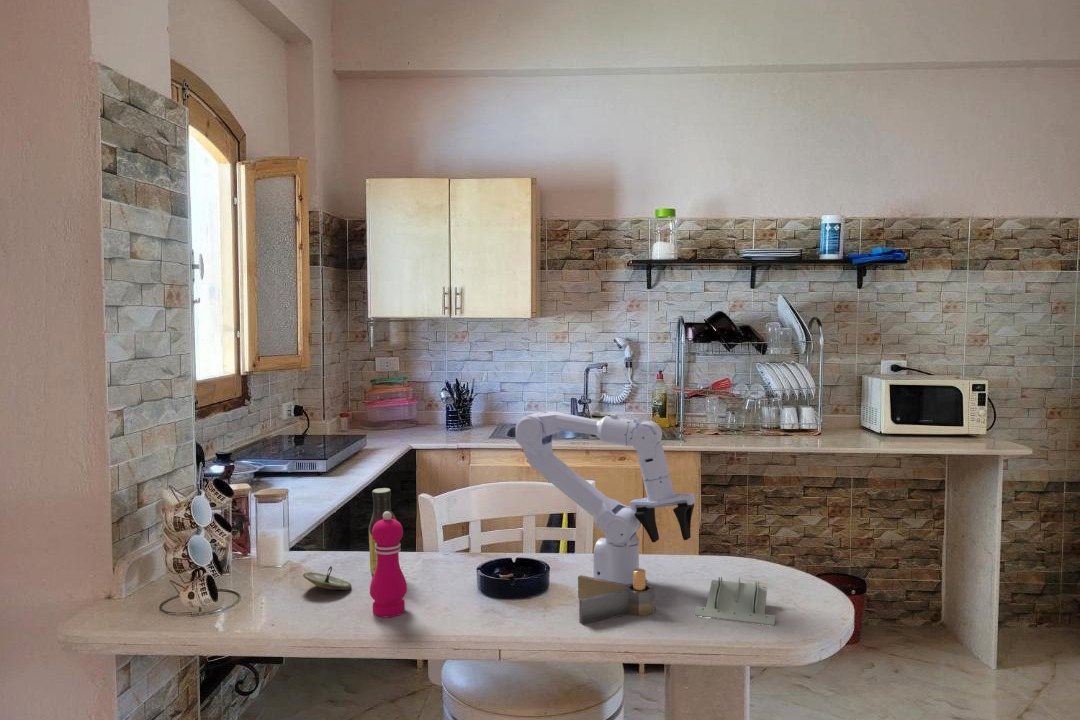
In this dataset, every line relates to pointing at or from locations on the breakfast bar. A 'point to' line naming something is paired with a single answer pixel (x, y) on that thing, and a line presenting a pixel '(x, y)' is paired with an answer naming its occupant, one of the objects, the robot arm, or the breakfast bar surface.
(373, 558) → the sauce bottle
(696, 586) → the breakfast bar surface
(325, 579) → the lid
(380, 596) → the pepper mill
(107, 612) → the breakfast bar surface
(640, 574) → the hinge pin
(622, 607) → the hinge
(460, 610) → the breakfast bar surface
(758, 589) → the metal bracket
